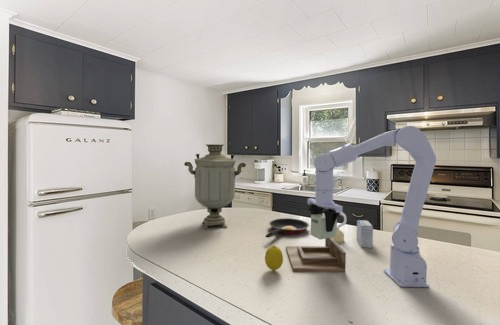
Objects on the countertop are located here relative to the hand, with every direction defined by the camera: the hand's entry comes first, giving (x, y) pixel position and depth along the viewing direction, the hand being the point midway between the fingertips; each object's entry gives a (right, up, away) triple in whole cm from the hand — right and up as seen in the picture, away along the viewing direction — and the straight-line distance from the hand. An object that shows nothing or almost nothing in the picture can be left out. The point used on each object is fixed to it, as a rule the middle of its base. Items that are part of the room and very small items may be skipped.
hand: (323, 228), depth 88 cm
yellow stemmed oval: (+12, -10, +19) cm, 24 cm away
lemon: (-18, -11, -9) cm, 23 cm away
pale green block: (0, -2, 0) cm, 2 cm away
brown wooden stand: (-4, -11, 0) cm, 11 cm away
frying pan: (-10, -10, +27) cm, 31 cm away
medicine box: (+21, -10, +15) cm, 27 cm away
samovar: (-42, -8, +42) cm, 60 cm away
